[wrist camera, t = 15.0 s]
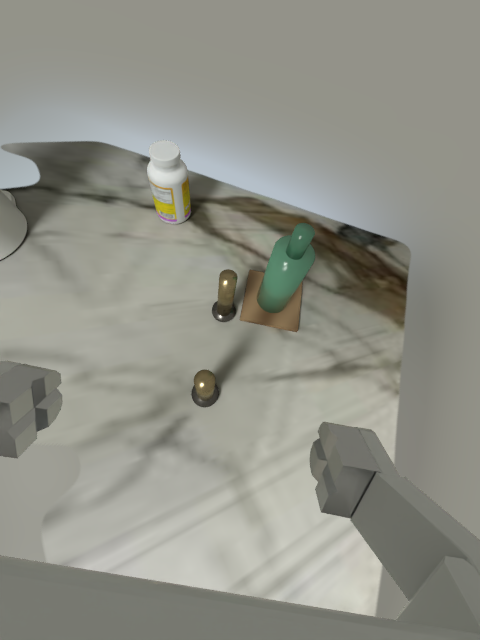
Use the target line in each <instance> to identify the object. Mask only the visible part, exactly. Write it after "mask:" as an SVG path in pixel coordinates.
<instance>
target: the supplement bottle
mask: <svg viewBox="0 0 480 640" xmlns="http://www.w3.org/2000/svg"><path fill="white" fill-rule="evenodd" d="M149 154H150V159H151V161H150V162H149V164H148V167H147V173H148V178H149V182H150V186H151V190H152V194H153V199H154V203H155V207H156V211H157V214H158V216H159V217H160V219H161V220H163V221H164V222H166V223H170V224H179V223H182V222H184V221H186V220H187V219H188V218H189V216H190V213H191V205H190V193H189V182H188V170H187V167H186V165H185V163H184V162H183V161H182V160H181V159H180V150H179V147H178V146H177V145H176V144H174V143H173V142H170V141H157V142H155V143H153V144H152V145H151V146H150V148H149Z"/></svg>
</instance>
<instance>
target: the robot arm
mask: <svg viewBox="0 0 480 640" xmlns="http://www.w3.org/2000/svg"><path fill="white" fill-rule="evenodd" d="M26 232H27V221H26V218H25V216H24V215H23V214H22V212H21V211H20V210H19V209H18V208H17V207H16V203H15V198H14V197H13V195H11V194H10V193H9V192H8V191H2V190H0V260H1V259H3V258H5V257H6V256H8V255H9V254H11V253H12V252H13V251H14V250H15V249H16V248H17V247H18V246H19V245H20V244H21V243H22V241H23V239H24V237H25V235H26ZM60 384H61V374H60V373H59V372H57V371H55V370H50V369H45V368H41V367H36V366H31V365H27V364H21V363H16V362H11V361H0V456H4V457H11V458H18V457H19V456H20V455H21V454H22V453H23V452H24V451H25V450H26V449H27V448H28V447H29V446H30V445H31V444H32V443H33V442H34V441H35V440H36V439H37V432H38V431H40V430H42V429H45V428H47V427H49V426H50V425H51V424H52V422H53V421H54V420H55V419H56V417H57V416H58V414H59V412H60V410H61V406H62V394H61V393H60V392H59V390H58V389H57V387H58V386H59V385H60ZM318 433H319V437H320V438H319V439H317V440H316V441H314V442H313V445H312V448H311V452H310V468H311V473H312V475H313V477H314V478H315V479H316V480H317V481H318V484H317V486H316V489H315V490H316V494H317V498H318V502H319V506H320V510H321V512H322V513H327V514H332V515H337V516H341V517H346V518H351V521H352V523H353V524H354V526H355V527H356V528H357V530H358V531H359V533H360V534H361V535H362V537H363V538H364V539H365V541H366V542H367V544H368V545H369V546H370V548H371V549H372V551H373V552H374V553H375V555H376V556H377V557H378V559H379V560H380V562H381V563H382V564H383V566H384V567H385V568H386V570H387V571H388V572H389V574H390V575H391V577H392V578H393V580H394V581H395V582H396V584H397V585H398V586H399V588H400V589H401V590H402V592H403V593H404V595H405V596H406V598H407V599H408V600H409V602H408V603H407V605H406V606H405V607H404V608H403V610H402V611H401V612H400V613H399V615H398V617H397V619H396V620H392V619H386V618H379V617H373V616H367V615H361V614H355V613H349V612H343V611H337V610H330V609H324V608H318V607H312V606H306V605H300V604H294V603H288V602H282V601H276V600H270V599H264V598H257V597H251V596H245V595H239V594H233V593H227V592H221V591H215V590H209V589H203V588H197V587H191V586H185V585H179V584H172V583H166V582H160V581H154V580H148V579H142V578H136V577H130V576H124V575H117V574H111V573H105V572H99V571H93V570H87V569H81V568H74V567H68V566H62V565H56V564H50V563H44V562H38V561H31V560H25V559H19V558H13V557H7V556H1V555H0V640H480V540H479V539H478V538H477V537H476V536H475V535H473V534H472V533H471V532H470V531H469V530H467V529H466V528H465V527H464V526H462V524H460V523H459V522H458V521H457V520H456V519H454V518H453V517H452V516H451V515H450V514H448V513H447V512H446V511H445V510H444V509H442V508H441V507H440V506H439V505H438V504H436V503H435V502H434V501H433V500H432V499H431V498H430V497H428V496H427V495H426V494H425V493H423V492H422V491H421V490H420V489H419V488H418V487H416V486H415V485H414V484H413V483H412V482H411V481H409V480H408V479H407V478H405V477H401V476H400V475H399V473H398V471H397V470H396V468H395V466H394V464H393V463H392V461H391V459H390V458H389V456H388V454H387V452H386V451H385V449H384V447H383V446H382V444H381V442H380V440H379V439H378V437H377V435H376V434H375V432H373V431H372V430H370V429H364V428H358V427H350V426H344V425H339V424H334V423H328V422H323V423H322V424H321V425H320V427H319V430H318Z"/></svg>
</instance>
